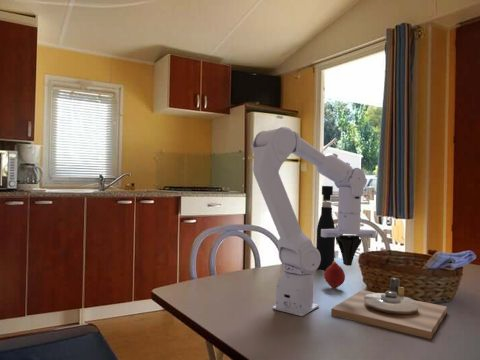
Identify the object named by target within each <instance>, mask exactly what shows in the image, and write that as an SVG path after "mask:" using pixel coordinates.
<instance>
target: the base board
mask: <svg viewBox="0 0 480 360" xmlns="http://www.w3.org/2000/svg"><path fill="white" fill-rule="evenodd" d="M372 293H375V292H373V291H368V290H364V289H363V290H362V289H361V290H359V291H358V292H355V293H354V294H352V295H351V296H349V297H347V299H345V300H343V301H342V302H340V303H338V304H336V305H335V306H333V307H332V308H331V316H335V317H337V318H342V319H346V320H350V321H355V322H358V323H362V324H366V325H370V326H375V327H379V328H384V329H388V330H391V331H396V332H400V333H403V334H407V335H411V336H416V337H420V338H424V339H428V340H431V339H432V338H433V336H434V335H435V333H436V331H437V330H438V328H439V326H440V324H441V323H442V321H444V320H443V319H444V318H445V316H446V314H447V312H448V307H447V306H445V305H440V304H435V303H431V302H426V301H425V302H424V301H419V300H415V299H414V300H415V301H416V302H417V303H418V304H419V307H418V311H417V312H416V313H412V314H394V313H387V312H382V311H379V310H375V309H373V308H370V307H368V306H367V305H366V304H365V303H364V297H365V295H368V294H372ZM398 295H400V296H404V297H405V287H403V286H399V287H398Z"/></svg>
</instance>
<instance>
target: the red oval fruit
mask: <svg viewBox="0 0 480 360" xmlns="http://www.w3.org/2000/svg"><path fill="white" fill-rule="evenodd" d="M323 276H324V280H325V282H326V283H327V284H328V286H330V287H331V288H332V289H334V290H335V289H338V288H339V287H340V286H342V285H343V284H344V282H345V280H346V275H345V271H344V269H343V268H342V267H341V266H340V265H339V264H338V263H337V262H336V261H335V260H334V261H333V262H332V265H330V266H329V267H328V268H327V269H326V271H324V274H323Z"/></svg>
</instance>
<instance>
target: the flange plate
mask: <svg viewBox="0 0 480 360" xmlns="http://www.w3.org/2000/svg"><path fill="white" fill-rule="evenodd" d="M389 281H390V282H389V283H390V284H389V290H386V291H385V292H374V293H372V294H368V295H365V297H364V303H365V304H366V305H367V306H368V307H370V308H373V309H375V310H379V311H382V312H387V313H394V314H412V313H416V312H417V311H418V307H419V304H418V303H417V302H416V301H417V300H416V301H415V299H412V298H410V297H407V296H405V295H404V296H400V295H398V287H400V281H401V280H400V278H397V277H390V280H389Z"/></svg>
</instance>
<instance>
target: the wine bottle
mask: <svg viewBox="0 0 480 360" xmlns="http://www.w3.org/2000/svg"><path fill="white" fill-rule="evenodd" d="M333 193H334V186H333V185H321V195H322V196H323V198H322V199H323V202H322V203H321V204H322V205H321V209H320V210H321V214H320V217H319V219H318V221H317V222H318V223H317V226H316V227H317V228H316V246H315V248H317V249H318V251H319V252H320V256H321V261H320V265H319V267H318V268H317V270H318V271H322V270H323V272H325V271H326V269H327V268H328V267H329V266H330V265H332V262H333V261H335V249H336V247H335V246H336V245H335V244H336V243H335V242H336V237H322V236H321V229H336V227H335V222H334V217H333V206H332V202H331V200H332V199H331V198H332V197H331V196H333Z"/></svg>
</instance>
